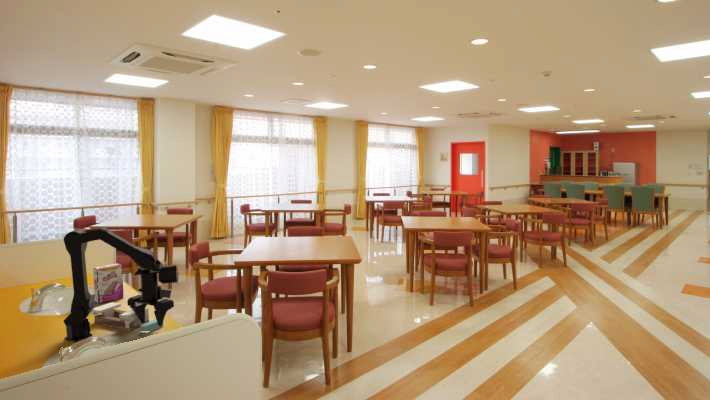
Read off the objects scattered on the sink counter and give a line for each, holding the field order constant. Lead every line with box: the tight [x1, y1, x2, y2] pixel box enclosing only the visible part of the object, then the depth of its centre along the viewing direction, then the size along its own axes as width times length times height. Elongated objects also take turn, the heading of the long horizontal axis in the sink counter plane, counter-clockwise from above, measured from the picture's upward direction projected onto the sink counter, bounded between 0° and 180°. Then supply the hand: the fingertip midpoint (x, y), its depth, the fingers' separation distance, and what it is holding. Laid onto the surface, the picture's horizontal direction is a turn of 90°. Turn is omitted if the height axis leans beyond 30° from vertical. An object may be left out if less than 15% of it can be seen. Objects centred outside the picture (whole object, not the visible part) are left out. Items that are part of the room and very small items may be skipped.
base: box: [93, 307, 150, 331], centre depth 168 cm, size 9×20×6 cm, turn 66°
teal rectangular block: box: [139, 318, 164, 332], centre depth 161 cm, size 8×3×3 cm, turn 157°
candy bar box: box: [92, 263, 124, 305], centre depth 197 cm, size 11×5×16 cm, turn 141°
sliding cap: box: [90, 301, 122, 317], centre depth 171 cm, size 9×6×4 cm, turn 156°
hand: (151, 324), depth 161 cm, fingers open, 9 cm apart
